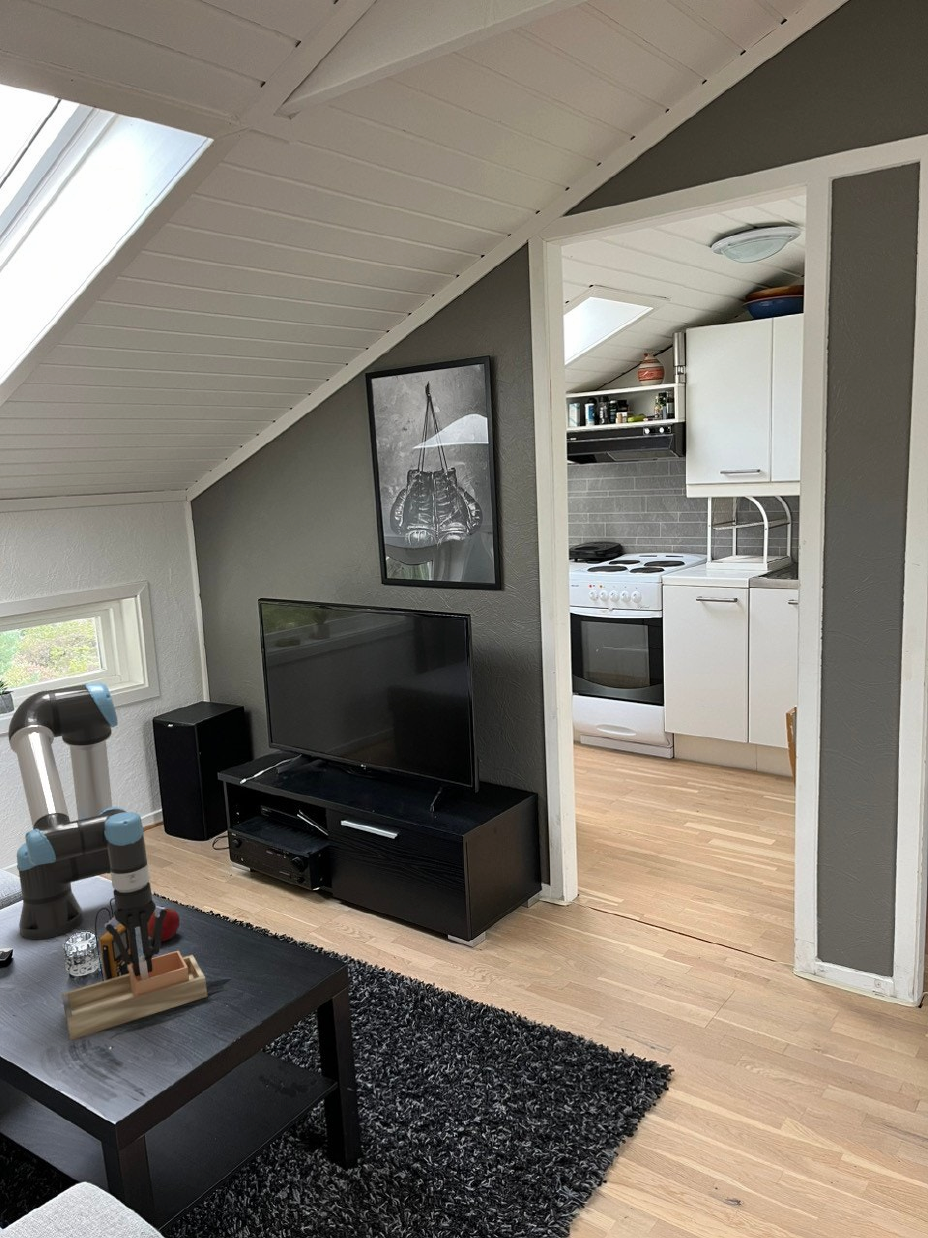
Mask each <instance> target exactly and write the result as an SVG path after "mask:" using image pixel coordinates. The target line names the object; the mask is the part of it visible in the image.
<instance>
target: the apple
mask: <svg viewBox="0 0 928 1238" xmlns="http://www.w3.org/2000/svg"><path fill="white" fill-rule="evenodd" d="M165 909H166V911H167V914H166V916H165V918H164V920H163V926H162V934H161V942H165V941H168V940H170V939H172V938H173V937H174V936H175V934H176V932H177V931H178V929H179V926H180V916H179V914H178V912H177V911H176V910H174V909H170V908H166V907H165ZM154 912H155V911H154ZM154 912H153V914H152V916H151V918H150V920H149V922H148V923H147V926H148V936H149V939H151V940H152V939H153V931H154V923H155V915H154Z"/></svg>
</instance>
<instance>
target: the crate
mask: <svg viewBox="0 0 928 1238" xmlns="http://www.w3.org/2000/svg"><path fill="white" fill-rule="evenodd" d="M151 961H152V968H153V970H152V972H149V973H148V978H147V979H144V980H141V981H140V977H139V976H135V974H134V972H133V965H132V964H131V965H128V969H129V976H130V983H131V990H132V993H133V996H134V997H136V996H139V995H142V994H146V993H149V992H152V991H155V990H159V989H162V988H165V987H168V986H171V985H175V984H178V983H181V982H184V981H188V980H189V974H188V967H187V965H186V963H185V961H184V960H183V956H182V955H181V952H180V950H176V951H172V952H169V953H165V954H161V955H159V956H155V957H152V959H151Z"/></svg>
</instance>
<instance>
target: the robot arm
mask: <svg viewBox="0 0 928 1238" xmlns="http://www.w3.org/2000/svg"><path fill="white" fill-rule="evenodd" d="M118 724H119V722H118V716H117V712H116V708H115V705H114V701H113V698H112V696H111V693H110V691H109V688H108V686H107V685H106V684H105V683H103V682H94V683H93V682H92V683H88V682H87V683H84V684H78V685H73V686H67V687H61V688H54V689H49V690H41V691H38V692H36V693H34V694H32V695H30V696H28V697H27V698H26V699H25V700H23V701H22V703H21V704H20V705H19V706H18V707H17V709H16V710H15V711H14V713H13V715H12V718H11V720H10V723H9V725H8V726H9V727H8V732H7V733H8V734H7V735H8V737H7V738H8V741H9V746H10V749H11V750H12V751H13V752H14V753H15V754H16V755H17V761H18V765H19V770H20V776H21V780H22V783H23V789H24V792H25V798H26V802H27V807H28V811H29V816H30V821H31V826H32V830H29V831H27V832H25V843H22V845H21V846H20V847H19V848H18V850H17V853H16V863H17V865H16V868H17V869H16V870H18V874H19V882H20V889H21V896H22V897H21V898H22V909H21V913H20V920H19V923H18V926H19V927H18V929H19V933H20V936H21V937H22V938H25V939H27V940H28V939H29V940H46V939H49V938H51V939H52V938H54V937H58V936H60V935H64V934H66V933H69V932H71V931H72V930H74V929H76V928H77V927H78V926H79V925H80V924H81V923H82V922H83V919H84V915H83V910H82V907H81V905H80V904H79V901H78V900H77V899H76V896H75V895H74V893H73V890H72V885H71V884H72V883H75V882H79V881H82V880H86V879H91V878H94V877H98V876H101V875H105V874H109V875H110V876H111V884H112V885H111V886H112V888H113V892H112V893H113V898H114V899H113V900H114V907H115V909H114V911H113V915H114V917H111V920H110V919H109V920H107V921H105V922H104V928H105V929H106V931H107V932H109V933H111V934H112V935H113V938H114V940H115V942H116V944H117V947H118V949H119V951H120V953H121V956H122V958H123V960H124V962H125V963H128V962H131V963H132V965H133V972H134V974H135V976H139V977H140V981H141V980H144V979H147V978H148V973H149V972H152V970H153V968H152V961H151V959H152V958H153V956H154V955H158V954H159V953H160V949H161V948H160V947H161V942H162V941H161V934H162V926H163V920H164V918H165V916H166V914H167V911H166V909H165V908H166V907H165V906H164V905H161V906H158V905H156V903H155V902H154V900H153V896H152V895H153V894H152V888H151V883H150V874H149V873H150V872H149V865H148V859H147V853H146V852H147V851H146V844H145V843H146V841H145V835H144V832H145V829H144V826H143V821H142V817H141V815H140V814H139V813H137V812H132V811H126V809H124V808H122V807H118V806H113V802H112V801H113V798H112V788H111V779H110V768H109V760H108V748H107V746H108V745H107V741H108V740H109V739H110V738H111V736H112V734H113V733H112V732H113V731H112V728H115V727H117V726H118ZM60 737H61V739H62V741H63V743H64V744H66V745H68V746H69V749H70V750H69V751H70V760H71V768H72V776H73V787H74V795H75V804H76V805H75V807H76V814H77V819H76V820H70V815H69V811H68V807H67V804H66V799H65V795H64V791H63V787H62V783H61V779H60V776H59V771H58V766H57V763H56V759H55V755H54V751H53V747H52V744H53V743H54V739H55V738H60ZM154 911H155V912H154ZM153 912H154V915H155V923H154V931H153V939H151V940H152V941H151V944H150V937H149V936H148V926H147V923H148V922H149V920H150V918H151V916H152V914H153ZM117 924H122V925H123V926H124V927H126V928H127V930H128V937H129V945H130V952H131V954H127V951H126V949H125V947H124V945H123V942H122V940H121V938H120V936H119V933H118V931H117V928H118V925H117ZM136 928H139V930H140V939H141V944H142V953H143V955H142V956H139V951H138V943H137V942H138V941H137V935H136Z"/></svg>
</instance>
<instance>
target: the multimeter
mask: <svg viewBox="0 0 928 1238" xmlns="http://www.w3.org/2000/svg"><path fill="white" fill-rule="evenodd" d="M113 900H114V897H113V898H111V899H110V900H109V906H110V909H111V911H110V909H109V908H107V907H102V908H100V909H99V910H98V911H97V913H96V915H95V920H94V921H95V923H94V930H95V931H94V934H95V944H96V950H97V957H98V961H99V967H100V972H101V973H100V975H101V980H102V981H105V980H109V979H112V978H115V977H119V976H122V975H126V974H129V969H128V965H131V964H132V963H131V962H128V963H125V962H124V960H123V958H122V956H121V953H120V951H119V949H118V947H117V944H116V942H115V940H114V938H113V935H112V934H111V933H109V932H108V931H107V932H106V933H104V934H103V935H102V936H101V937H100V938H99V943H98V936H97V934H98V933H97V919H98V916H99V913H100V912H101V911H102V910H107V912H108V914H109V921H110V920H111V919H112V918H113V917H114V910H113V906H112V901H113ZM111 916H112V917H111ZM117 925H118V928H117V931H118V933H119V936H120V938H121V940H122V942H123V945H124V947H125V949H126V951H127V954H131V952H130V945H129V937H128V930H127V928H126V927H124V926H123V925H122V924H121V923H117ZM99 945H100V950H99ZM100 953H101V956H100ZM102 967H103V968H102Z"/></svg>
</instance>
